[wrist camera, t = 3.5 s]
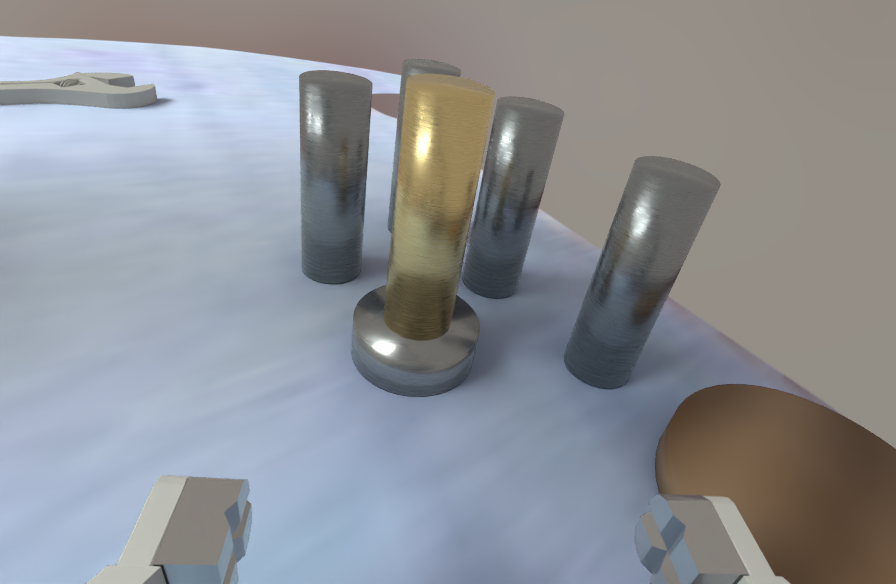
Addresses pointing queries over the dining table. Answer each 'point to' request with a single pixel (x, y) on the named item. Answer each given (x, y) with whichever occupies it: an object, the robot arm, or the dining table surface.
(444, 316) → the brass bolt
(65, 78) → the adjustable wrench
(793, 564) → the walnut plate
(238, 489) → the robot arm
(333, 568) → the dining table surface
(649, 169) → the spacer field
